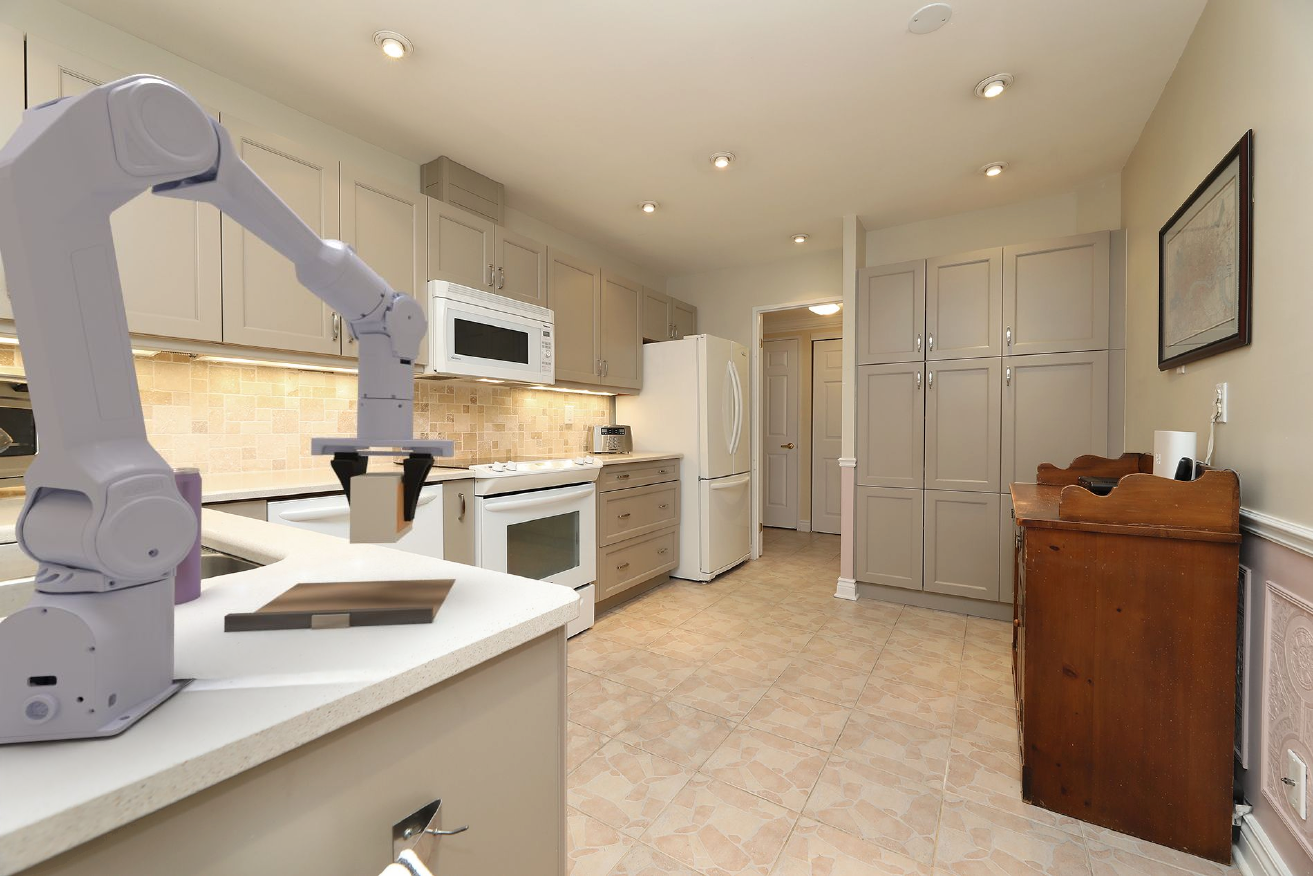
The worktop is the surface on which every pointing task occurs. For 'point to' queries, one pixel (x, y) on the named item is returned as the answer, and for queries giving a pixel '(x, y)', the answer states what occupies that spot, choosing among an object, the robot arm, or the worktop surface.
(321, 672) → the worktop surface
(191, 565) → the beverage can
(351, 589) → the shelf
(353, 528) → the product box
